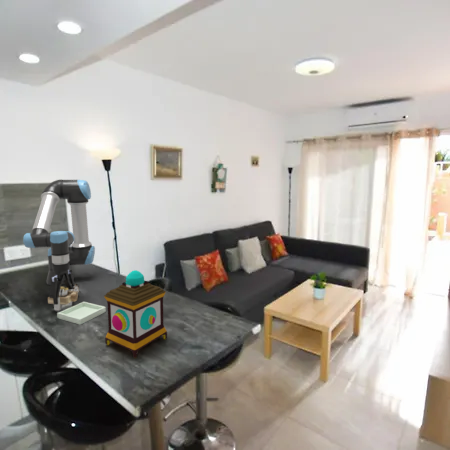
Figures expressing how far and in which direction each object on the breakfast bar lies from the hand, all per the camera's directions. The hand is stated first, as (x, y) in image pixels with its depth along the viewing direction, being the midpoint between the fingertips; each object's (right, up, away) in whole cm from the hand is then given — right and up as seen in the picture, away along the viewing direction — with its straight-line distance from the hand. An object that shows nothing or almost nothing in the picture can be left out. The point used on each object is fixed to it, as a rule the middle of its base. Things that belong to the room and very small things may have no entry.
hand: (63, 305), depth 149 cm
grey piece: (0, -2, 0) cm, 2 cm away
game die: (-3, 0, +15) cm, 15 cm away
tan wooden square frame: (0, +3, 0) cm, 3 cm away
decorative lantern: (+46, -7, -29) cm, 55 cm away
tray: (+12, -3, -6) cm, 14 cm away
